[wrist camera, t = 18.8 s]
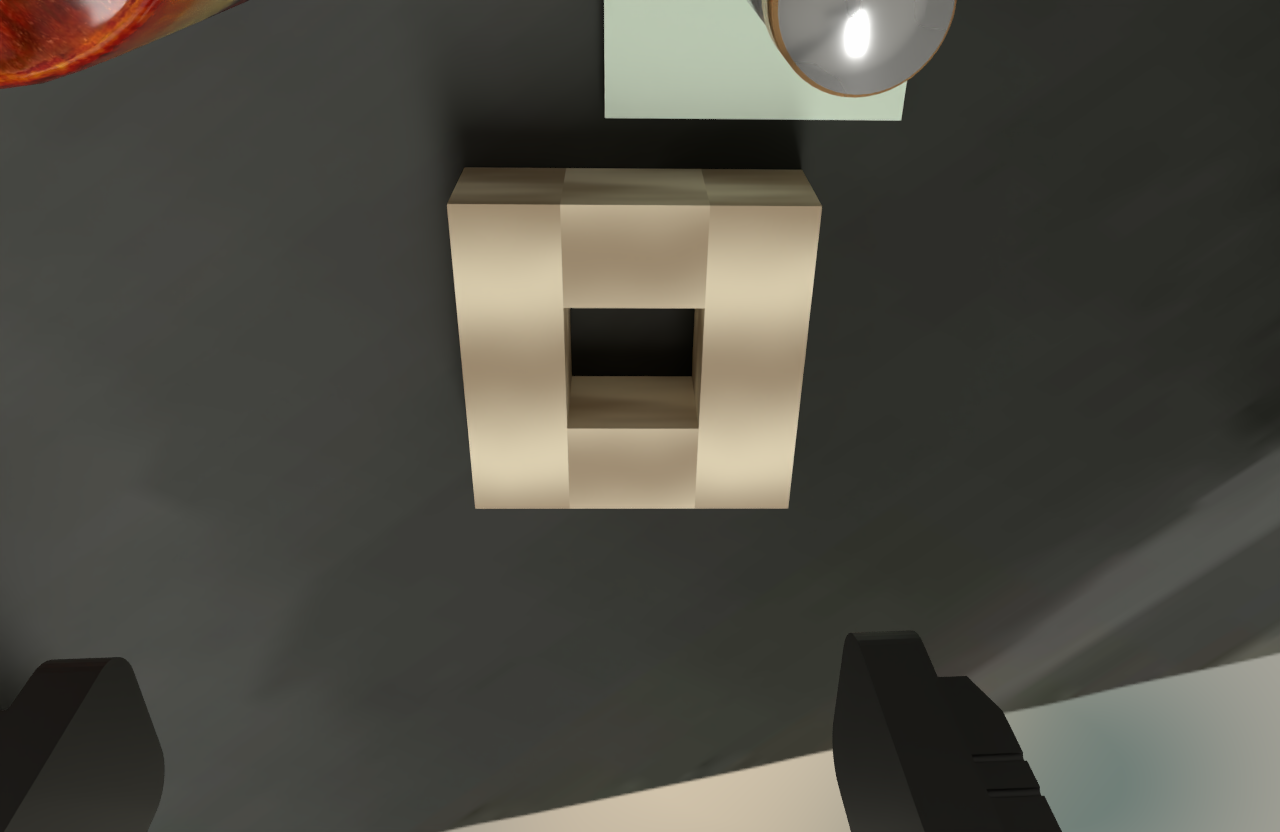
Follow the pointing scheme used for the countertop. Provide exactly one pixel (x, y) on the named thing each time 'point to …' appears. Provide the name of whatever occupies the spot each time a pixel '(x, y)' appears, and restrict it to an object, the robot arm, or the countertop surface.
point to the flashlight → (856, 40)
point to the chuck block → (632, 278)
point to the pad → (713, 67)
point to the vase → (86, 32)
